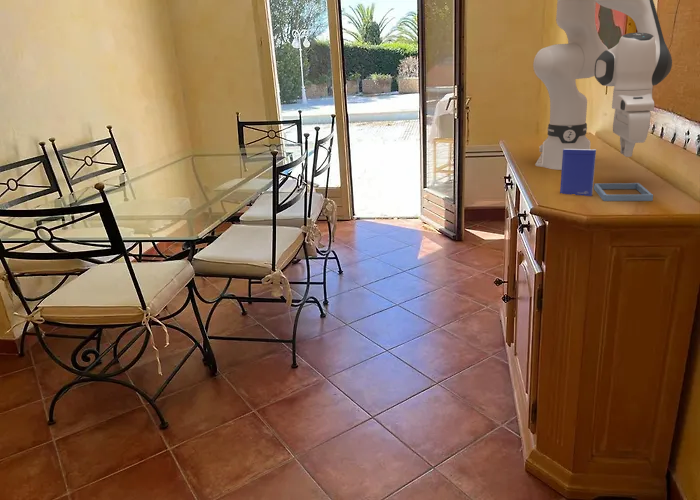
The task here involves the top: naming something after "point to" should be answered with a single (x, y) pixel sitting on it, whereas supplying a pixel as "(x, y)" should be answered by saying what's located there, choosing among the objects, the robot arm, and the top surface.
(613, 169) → the top surface
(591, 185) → the hard drive
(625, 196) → the frame
